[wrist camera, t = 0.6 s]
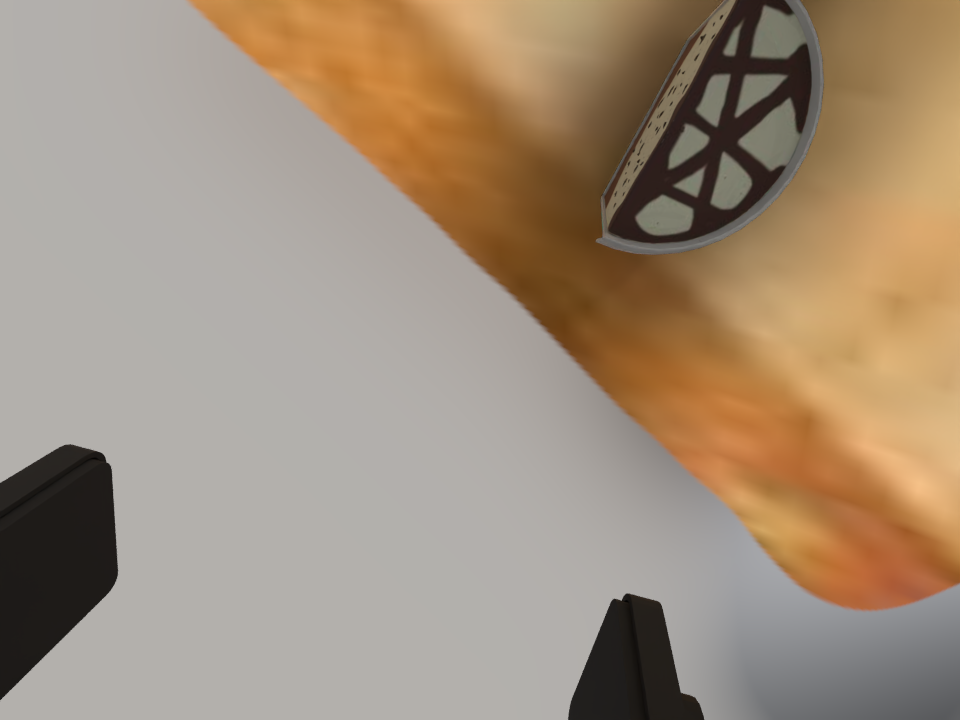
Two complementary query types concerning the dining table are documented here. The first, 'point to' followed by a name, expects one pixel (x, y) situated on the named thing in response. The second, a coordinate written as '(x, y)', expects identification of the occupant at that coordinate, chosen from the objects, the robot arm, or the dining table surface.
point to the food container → (719, 131)
